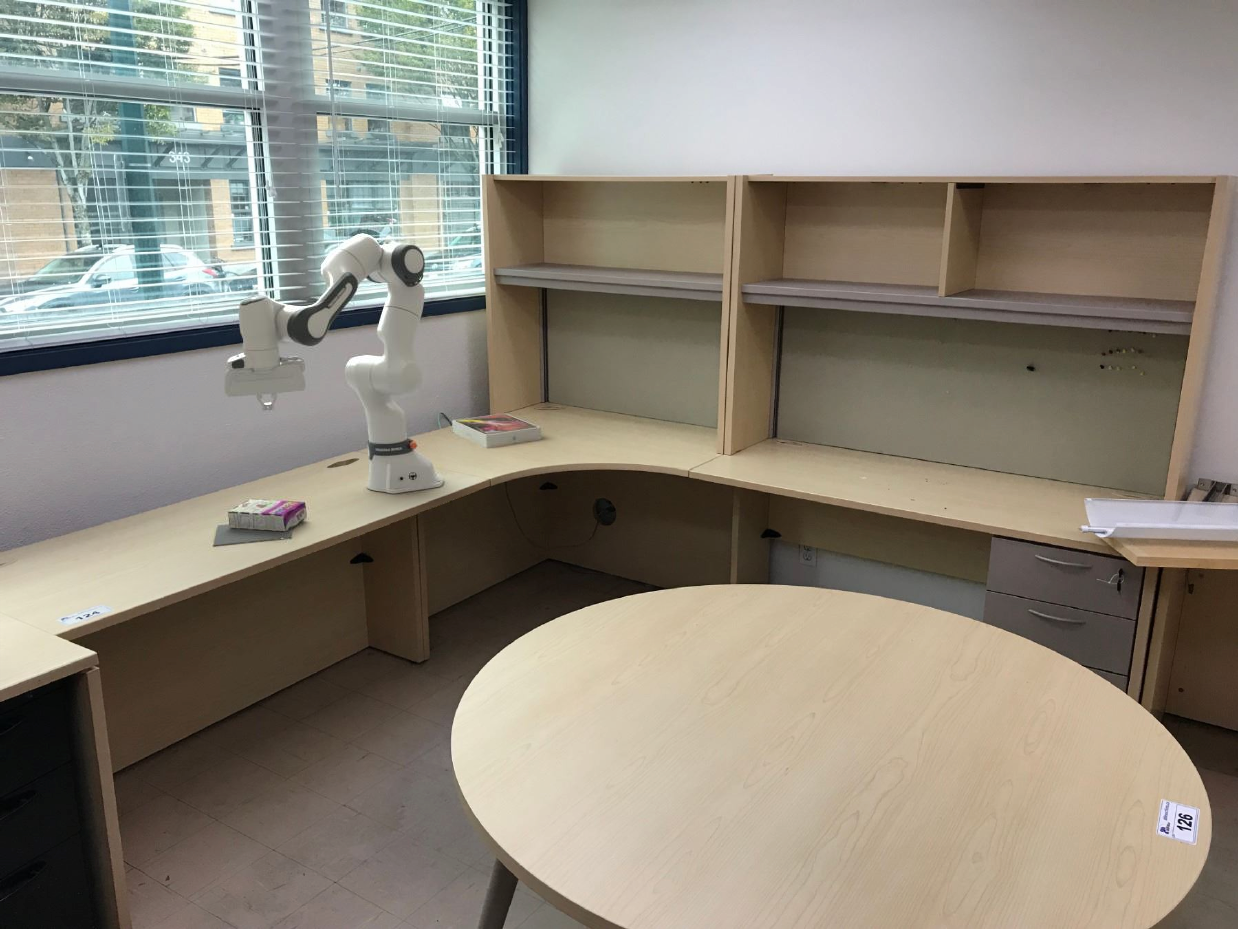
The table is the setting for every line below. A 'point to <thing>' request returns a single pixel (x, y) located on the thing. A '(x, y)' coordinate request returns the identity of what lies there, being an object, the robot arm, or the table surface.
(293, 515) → the candy bar box
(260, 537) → the mat
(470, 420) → the product packaging
